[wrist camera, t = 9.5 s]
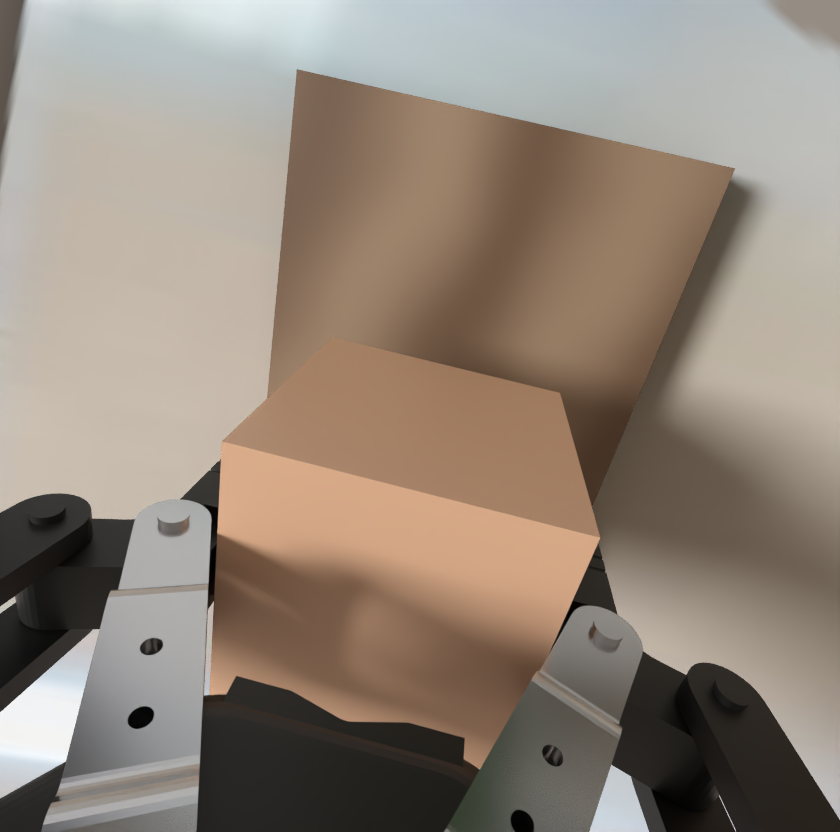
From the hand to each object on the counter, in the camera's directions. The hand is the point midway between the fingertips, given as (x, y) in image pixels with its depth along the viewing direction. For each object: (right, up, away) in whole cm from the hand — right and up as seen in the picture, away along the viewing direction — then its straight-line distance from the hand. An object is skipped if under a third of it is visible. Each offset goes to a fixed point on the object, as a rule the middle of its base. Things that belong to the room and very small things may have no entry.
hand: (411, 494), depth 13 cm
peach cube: (0, +1, +2) cm, 2 cm away
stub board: (+1, +3, +6) cm, 7 cm away
